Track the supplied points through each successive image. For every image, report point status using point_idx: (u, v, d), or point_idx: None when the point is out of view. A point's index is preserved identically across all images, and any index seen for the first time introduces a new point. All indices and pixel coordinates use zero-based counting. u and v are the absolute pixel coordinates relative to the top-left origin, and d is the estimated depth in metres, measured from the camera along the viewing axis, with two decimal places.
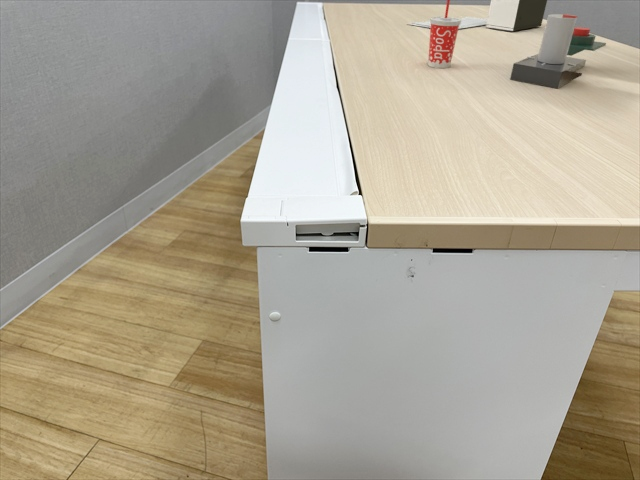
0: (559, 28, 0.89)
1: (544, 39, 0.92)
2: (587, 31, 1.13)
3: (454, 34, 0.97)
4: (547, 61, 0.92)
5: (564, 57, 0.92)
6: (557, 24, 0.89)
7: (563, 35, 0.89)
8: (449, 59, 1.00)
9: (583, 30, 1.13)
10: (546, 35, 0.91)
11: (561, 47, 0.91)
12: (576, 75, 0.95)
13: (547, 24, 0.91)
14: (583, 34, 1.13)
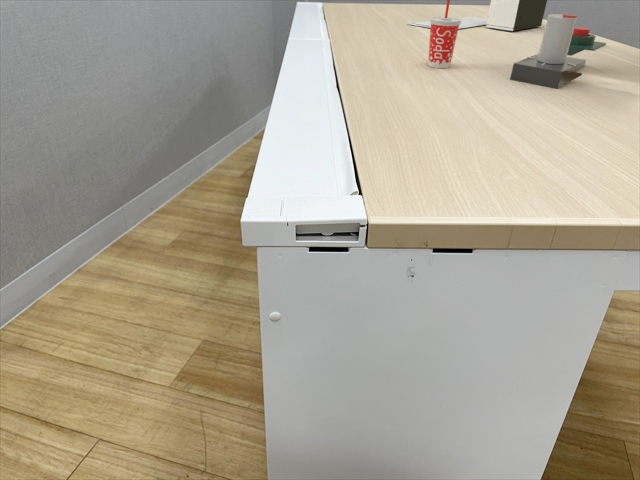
0: (559, 28, 0.89)
1: (544, 39, 0.92)
2: (587, 31, 1.13)
3: (454, 34, 0.97)
4: (547, 61, 0.92)
5: (564, 57, 0.92)
6: (557, 24, 0.89)
7: (563, 35, 0.89)
8: (449, 59, 1.00)
9: (583, 30, 1.13)
10: (546, 35, 0.91)
11: (561, 47, 0.91)
12: (576, 75, 0.95)
13: (547, 24, 0.91)
14: (583, 34, 1.13)
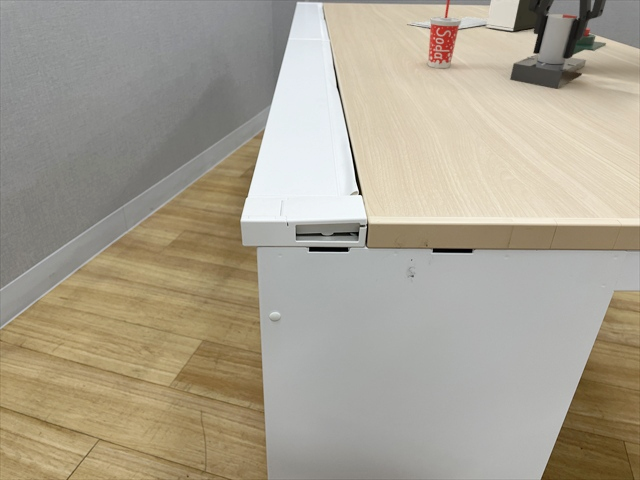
0: (559, 28, 0.89)
1: (544, 39, 0.92)
2: (587, 31, 1.13)
3: (454, 34, 0.97)
4: (547, 61, 0.92)
5: None
6: (557, 24, 0.89)
7: (563, 35, 0.89)
8: (449, 59, 1.00)
9: None
10: (546, 35, 0.91)
11: (561, 47, 0.91)
12: (576, 75, 0.95)
13: (547, 24, 0.91)
14: None
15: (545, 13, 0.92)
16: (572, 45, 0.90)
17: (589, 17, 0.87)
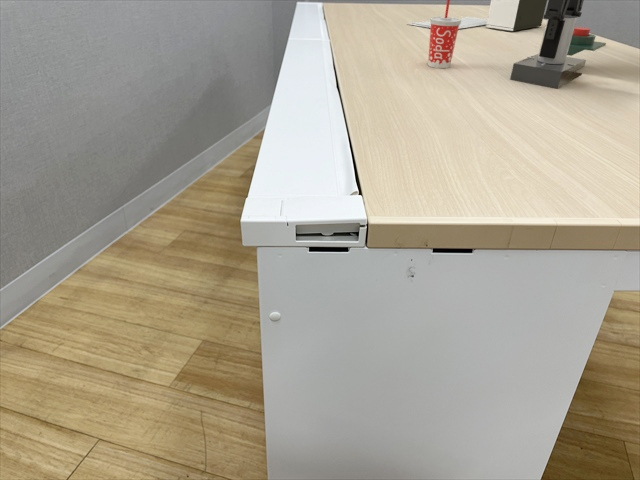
0: None
1: None
2: (587, 31, 1.13)
3: (454, 34, 0.97)
4: None
5: None
6: None
7: (544, 33, 0.92)
8: (449, 59, 1.00)
9: (583, 30, 1.13)
10: None
11: None
12: (576, 75, 0.95)
13: None
14: (583, 34, 1.13)
15: (570, 14, 0.92)
16: (547, 45, 0.91)
17: None
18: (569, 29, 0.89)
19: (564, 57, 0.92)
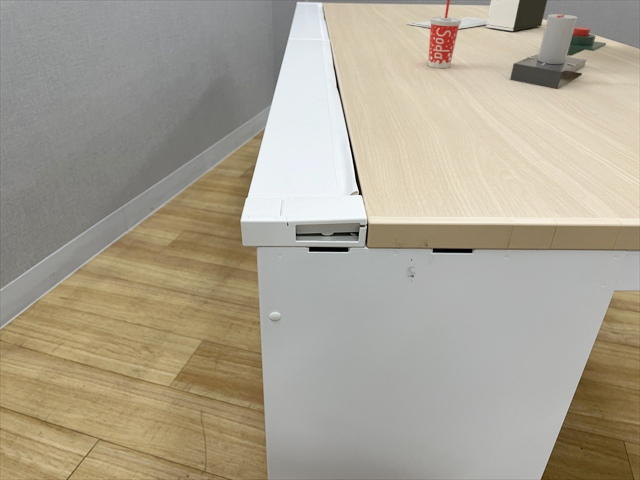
0: None
1: None
2: (587, 31, 1.13)
3: (454, 34, 0.97)
4: None
5: (545, 56, 0.92)
6: None
7: (544, 33, 0.92)
8: (449, 59, 1.00)
9: (583, 30, 1.13)
10: None
11: (542, 44, 0.92)
12: (576, 75, 0.95)
13: None
14: (583, 34, 1.13)
15: None
16: None
17: None
18: (569, 29, 0.89)
19: (564, 57, 0.92)
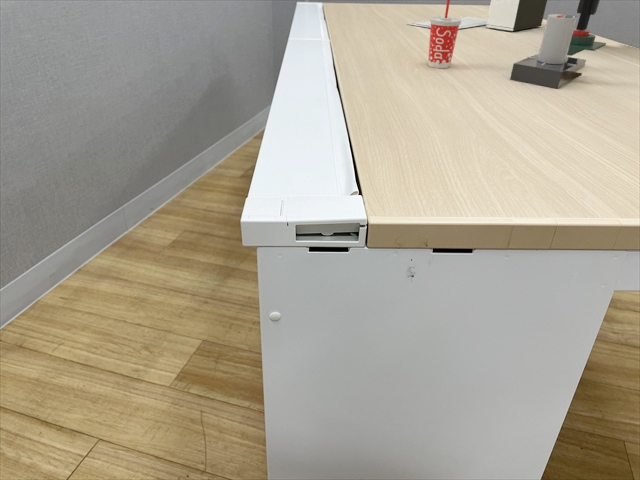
0: None
1: None
2: (586, 33, 1.13)
3: (454, 34, 0.97)
4: None
5: (545, 56, 0.92)
6: None
7: (544, 33, 0.92)
8: (449, 59, 1.00)
9: (582, 32, 1.13)
10: None
11: (542, 44, 0.92)
12: (576, 75, 0.95)
13: None
14: None
15: None
16: (587, 19, 1.13)
17: None
18: (569, 29, 0.89)
19: (564, 57, 0.92)
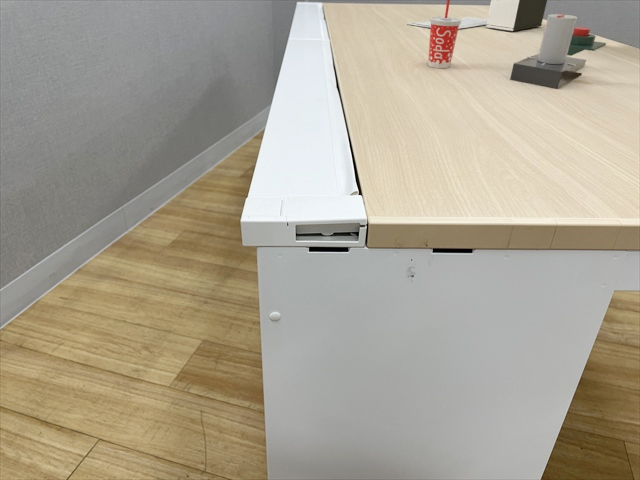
0: None
1: None
2: (587, 31, 1.13)
3: (454, 34, 0.97)
4: None
5: (545, 56, 0.92)
6: None
7: (544, 33, 0.92)
8: (449, 59, 1.00)
9: (583, 30, 1.13)
10: None
11: (542, 44, 0.92)
12: (576, 75, 0.95)
13: None
14: (583, 34, 1.13)
15: None
16: None
17: None
18: (569, 29, 0.89)
19: (564, 57, 0.92)
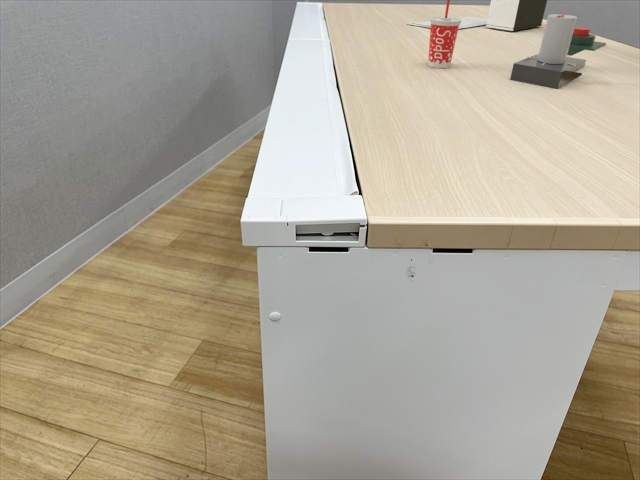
0: None
1: None
2: (587, 31, 1.13)
3: (454, 34, 0.97)
4: None
5: (545, 56, 0.92)
6: None
7: (544, 33, 0.92)
8: (449, 59, 1.00)
9: (583, 30, 1.13)
10: None
11: (542, 44, 0.92)
12: (576, 75, 0.95)
13: None
14: (583, 34, 1.13)
15: None
16: None
17: None
18: (569, 29, 0.89)
19: (564, 57, 0.92)
